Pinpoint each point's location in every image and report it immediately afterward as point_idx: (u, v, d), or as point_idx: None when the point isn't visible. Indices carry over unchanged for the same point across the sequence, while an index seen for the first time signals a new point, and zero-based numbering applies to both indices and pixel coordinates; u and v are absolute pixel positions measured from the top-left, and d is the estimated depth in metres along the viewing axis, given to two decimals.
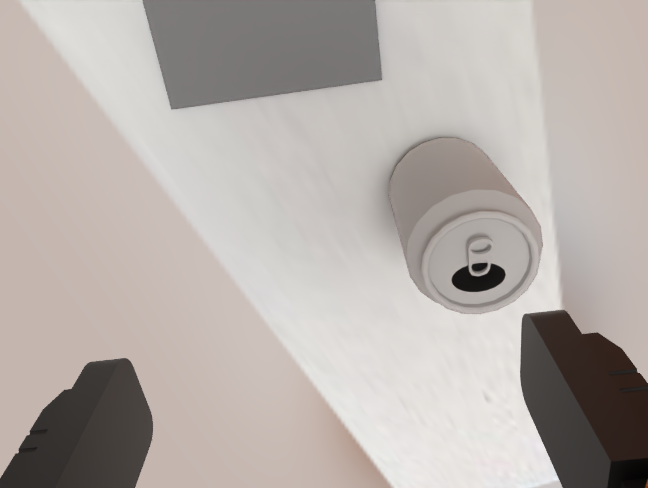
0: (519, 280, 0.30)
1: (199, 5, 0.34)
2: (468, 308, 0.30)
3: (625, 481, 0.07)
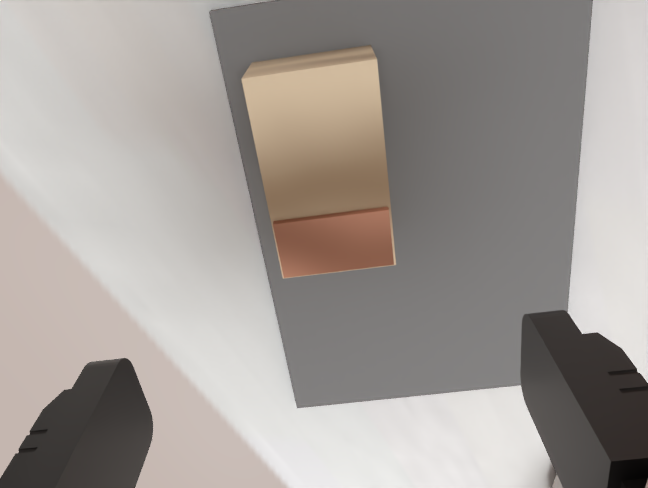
0: None
1: (345, 311, 0.27)
2: None
3: (625, 481, 0.07)
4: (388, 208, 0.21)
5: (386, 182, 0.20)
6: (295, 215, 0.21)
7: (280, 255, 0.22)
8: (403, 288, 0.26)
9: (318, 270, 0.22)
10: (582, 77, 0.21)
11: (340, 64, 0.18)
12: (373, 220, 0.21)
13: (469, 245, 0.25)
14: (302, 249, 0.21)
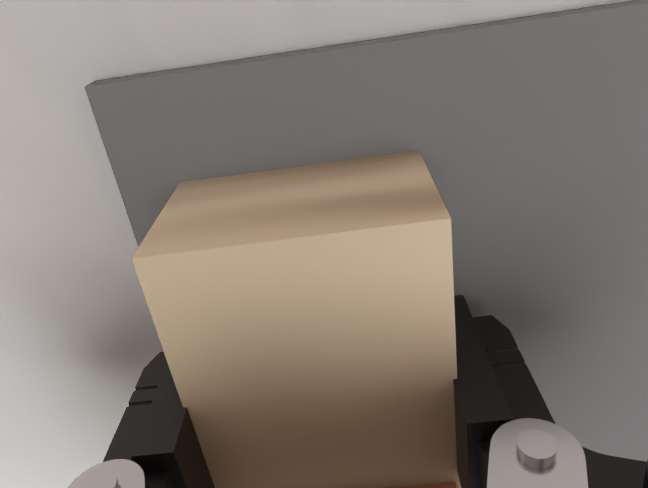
0: None
1: None
2: None
3: (481, 442, 0.08)
4: None
5: (455, 444, 0.10)
6: None
7: None
8: None
9: None
10: None
11: (363, 228, 0.08)
12: None
13: None
14: None
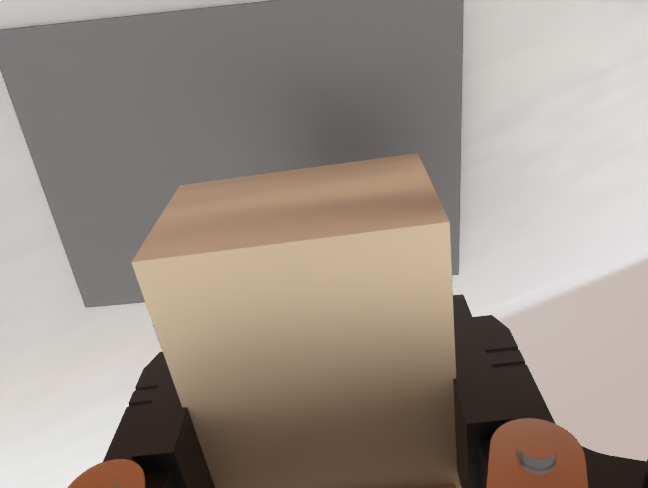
0: None
1: None
2: None
3: (481, 442, 0.08)
4: None
5: (454, 446, 0.10)
6: None
7: None
8: None
9: None
10: (88, 25, 0.23)
11: (362, 232, 0.08)
12: None
13: (267, 114, 0.25)
14: None
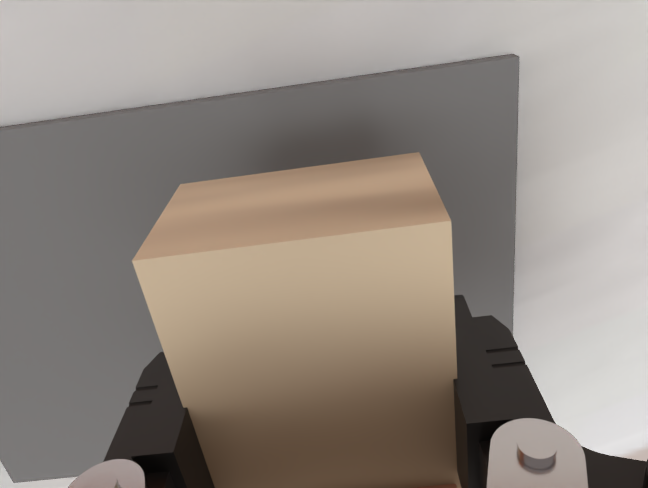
0: None
1: None
2: None
3: (481, 442, 0.08)
4: None
5: (455, 445, 0.10)
6: None
7: None
8: None
9: None
10: None
11: (363, 231, 0.08)
12: None
13: None
14: None
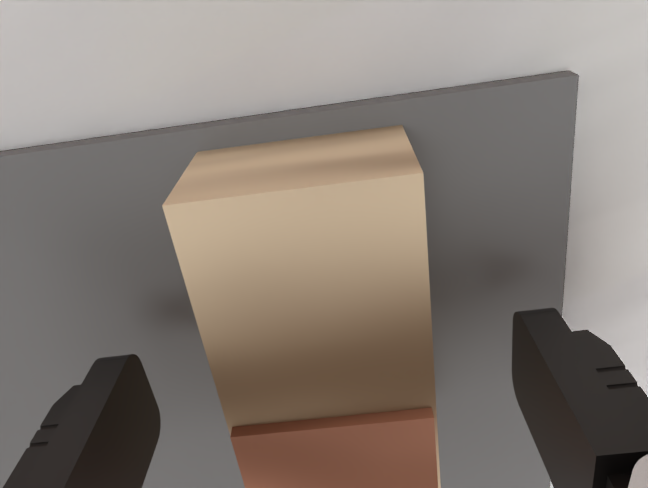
0: None
1: None
2: None
3: (610, 475, 0.07)
4: (432, 412, 0.12)
5: (430, 372, 0.11)
6: (271, 418, 0.12)
7: (244, 479, 0.13)
8: None
9: None
10: None
11: (352, 181, 0.10)
12: (405, 432, 0.12)
13: None
14: (281, 471, 0.12)
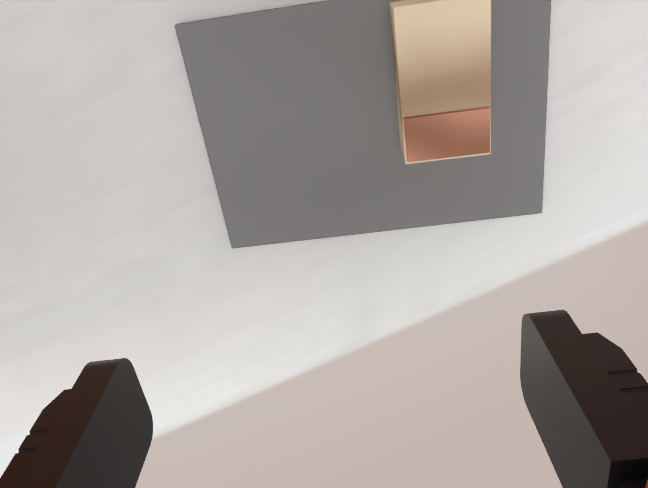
0: None
1: (443, 174, 0.34)
2: None
3: (625, 481, 0.07)
4: (489, 107, 0.29)
5: (489, 87, 0.28)
6: (420, 112, 0.29)
7: (406, 144, 0.29)
8: None
9: (433, 156, 0.30)
10: (252, 16, 0.30)
11: None
12: (477, 116, 0.29)
13: (388, 81, 0.31)
14: (423, 139, 0.29)
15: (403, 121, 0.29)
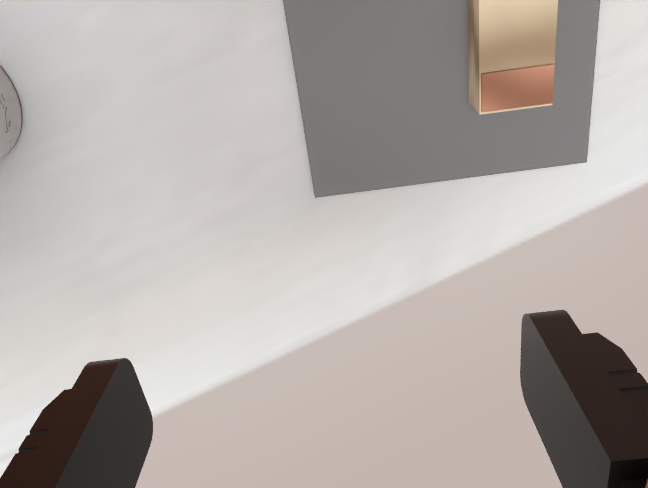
0: None
1: (504, 128, 0.39)
2: None
3: (625, 481, 0.07)
4: (553, 64, 0.34)
5: (554, 46, 0.34)
6: (495, 69, 0.34)
7: (483, 96, 0.35)
8: None
9: (504, 107, 0.35)
10: None
11: None
12: (544, 71, 0.34)
13: (462, 46, 0.36)
14: (497, 91, 0.35)
15: (480, 76, 0.34)
